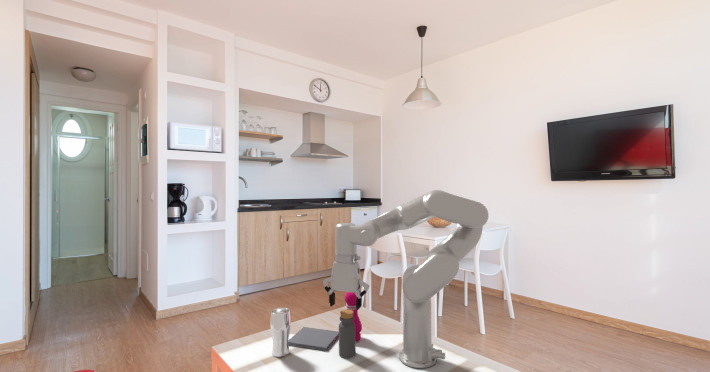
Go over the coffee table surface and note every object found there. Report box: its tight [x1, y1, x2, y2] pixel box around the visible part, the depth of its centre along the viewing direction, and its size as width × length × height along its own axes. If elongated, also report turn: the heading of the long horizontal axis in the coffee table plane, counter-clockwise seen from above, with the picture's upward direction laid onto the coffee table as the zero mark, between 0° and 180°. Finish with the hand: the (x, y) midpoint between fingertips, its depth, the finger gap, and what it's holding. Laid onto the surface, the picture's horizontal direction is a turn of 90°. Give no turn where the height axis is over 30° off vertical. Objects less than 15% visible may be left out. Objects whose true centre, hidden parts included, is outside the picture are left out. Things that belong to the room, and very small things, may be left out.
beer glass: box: [269, 307, 291, 358], centre depth 121 cm, size 7×7×15 cm
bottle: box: [338, 309, 357, 359], centre depth 120 cm, size 6×6×15 cm
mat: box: [288, 326, 339, 352], centre depth 131 cm, size 16×14×1 cm
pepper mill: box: [344, 292, 363, 343], centre depth 132 cm, size 7×7×20 cm
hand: (345, 306), depth 120 cm, fingers open, 9 cm apart
